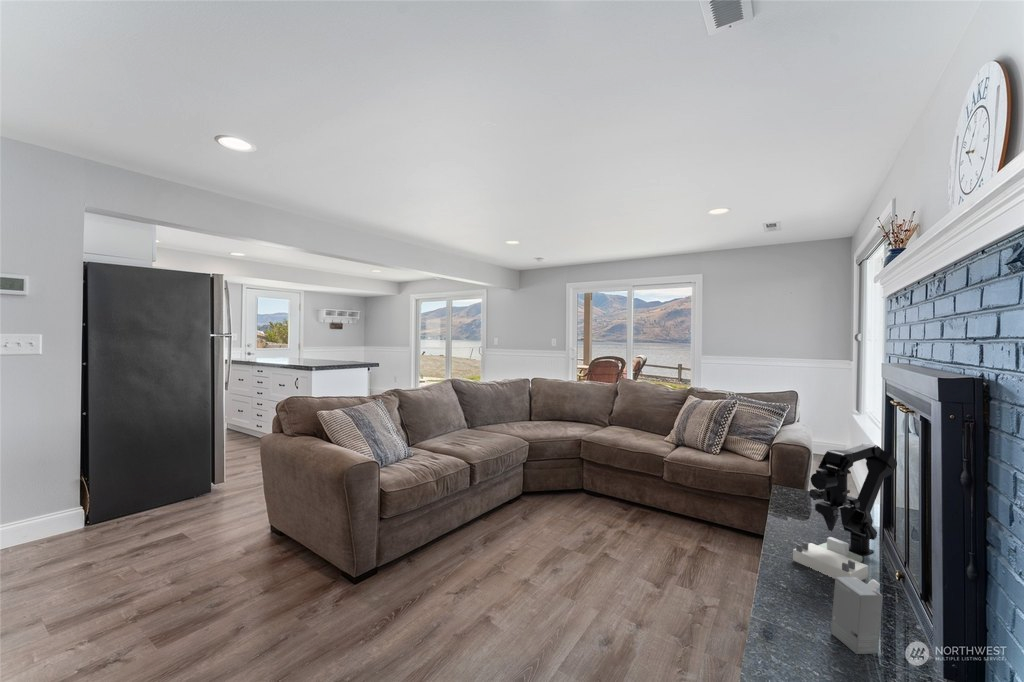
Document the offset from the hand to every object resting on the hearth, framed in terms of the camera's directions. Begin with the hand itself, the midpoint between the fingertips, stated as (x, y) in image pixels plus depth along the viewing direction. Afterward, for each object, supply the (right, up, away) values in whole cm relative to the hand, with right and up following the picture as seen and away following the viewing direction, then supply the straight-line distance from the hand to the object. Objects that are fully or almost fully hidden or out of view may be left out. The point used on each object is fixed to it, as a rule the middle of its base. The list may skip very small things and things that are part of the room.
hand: (837, 528), depth 159 cm
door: (0, -11, 0) cm, 11 cm away
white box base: (-9, -11, -8) cm, 16 cm away
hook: (-17, -11, -32) cm, 38 cm away
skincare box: (-29, -11, -45) cm, 55 cm away
